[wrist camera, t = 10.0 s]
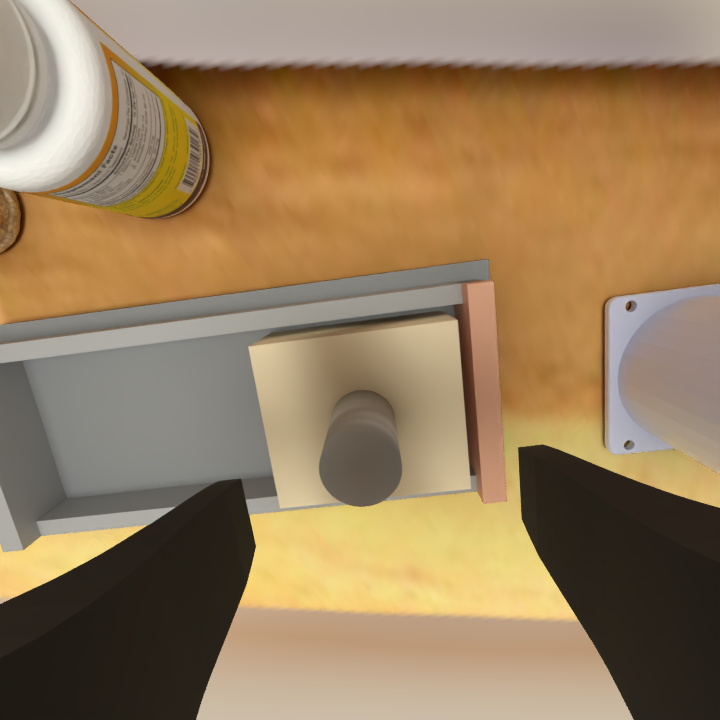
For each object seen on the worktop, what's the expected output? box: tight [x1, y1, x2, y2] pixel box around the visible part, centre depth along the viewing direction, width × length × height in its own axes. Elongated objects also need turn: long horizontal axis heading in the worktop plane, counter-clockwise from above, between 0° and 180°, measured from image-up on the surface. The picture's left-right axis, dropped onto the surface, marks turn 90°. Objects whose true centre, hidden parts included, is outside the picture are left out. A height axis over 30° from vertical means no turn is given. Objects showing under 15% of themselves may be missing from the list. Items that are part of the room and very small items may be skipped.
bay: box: [0, 259, 507, 552], centre depth 19 cm, size 24×11×4 cm, turn 98°
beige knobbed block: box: [248, 311, 471, 509], centre depth 16 cm, size 8×7×8 cm
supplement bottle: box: [0, 0, 209, 219], centre depth 13 cm, size 6×6×10 cm
